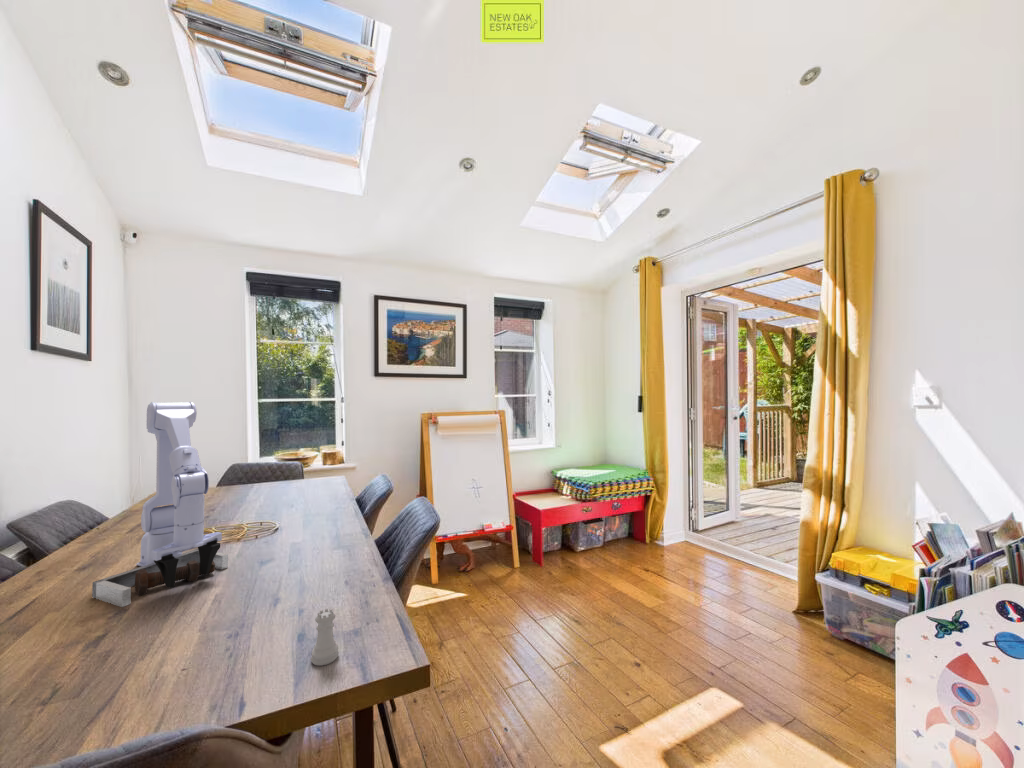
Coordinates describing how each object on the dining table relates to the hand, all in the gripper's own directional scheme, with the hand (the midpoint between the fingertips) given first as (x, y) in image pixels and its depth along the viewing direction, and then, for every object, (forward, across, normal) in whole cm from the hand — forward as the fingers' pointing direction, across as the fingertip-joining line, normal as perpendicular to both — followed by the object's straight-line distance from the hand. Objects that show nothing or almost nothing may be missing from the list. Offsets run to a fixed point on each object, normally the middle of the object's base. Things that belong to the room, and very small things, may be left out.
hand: (187, 580), depth 101 cm
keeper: (+2, 0, +8) cm, 9 cm away
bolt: (+2, 0, +5) cm, 5 cm away
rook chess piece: (+2, -9, -52) cm, 53 cm away
